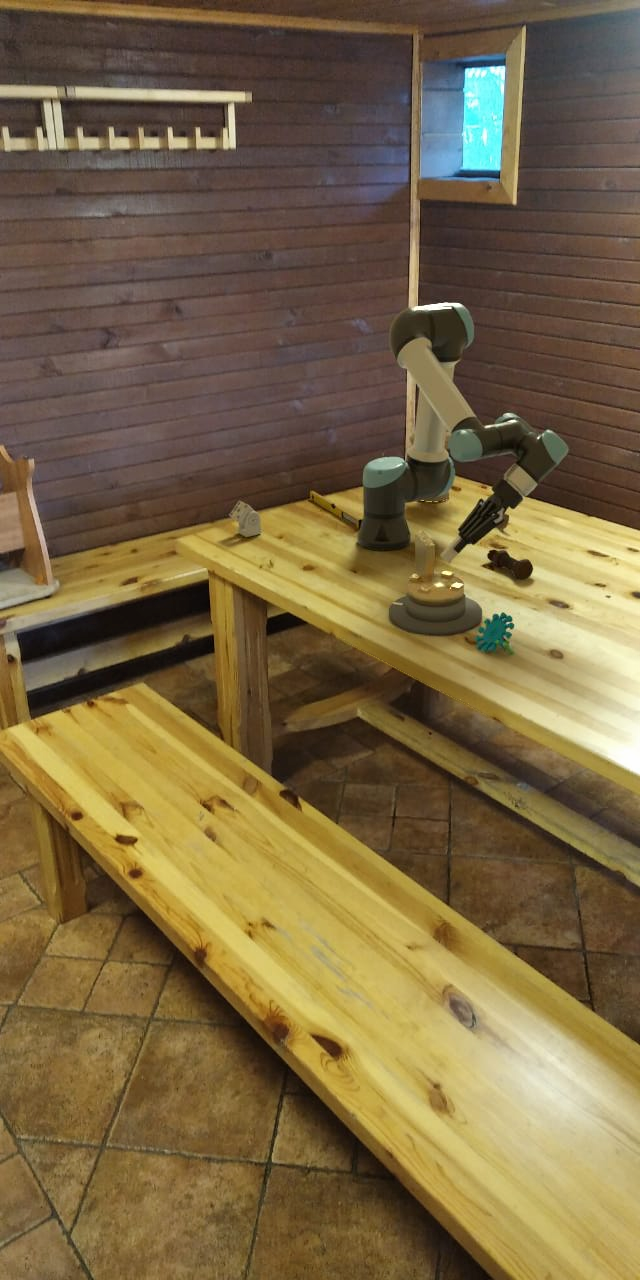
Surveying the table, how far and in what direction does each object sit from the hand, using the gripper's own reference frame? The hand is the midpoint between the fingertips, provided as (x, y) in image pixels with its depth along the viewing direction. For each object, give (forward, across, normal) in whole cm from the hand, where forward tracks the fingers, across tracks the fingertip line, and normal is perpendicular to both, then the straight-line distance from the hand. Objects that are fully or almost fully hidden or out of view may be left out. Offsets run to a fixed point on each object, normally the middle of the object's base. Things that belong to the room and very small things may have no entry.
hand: (444, 559), depth 239 cm
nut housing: (+11, -11, -3) cm, 15 cm away
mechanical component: (+37, +58, +23) cm, 73 cm away
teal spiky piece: (+5, -30, -9) cm, 32 cm away
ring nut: (+7, -6, 0) cm, 9 cm away
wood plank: (-14, +48, -28) cm, 58 cm away
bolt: (-8, +13, -23) cm, 27 cm away
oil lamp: (-7, +78, -21) cm, 81 cm away
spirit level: (+17, +71, +2) cm, 73 cm away
